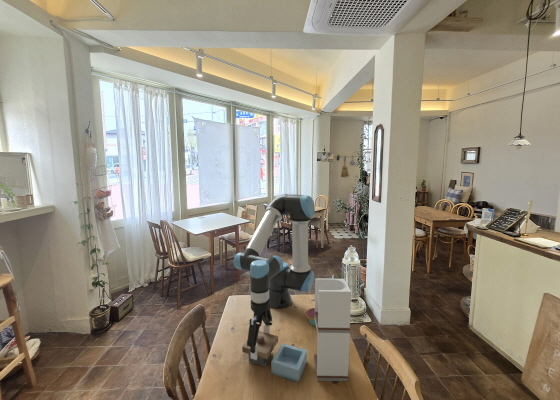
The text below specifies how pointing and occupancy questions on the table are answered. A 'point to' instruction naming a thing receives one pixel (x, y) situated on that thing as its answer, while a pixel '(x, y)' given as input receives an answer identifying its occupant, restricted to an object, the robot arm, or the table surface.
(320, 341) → the white stacked pedestal
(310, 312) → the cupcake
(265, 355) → the lid
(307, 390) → the table surface
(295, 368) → the dish
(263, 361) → the block
